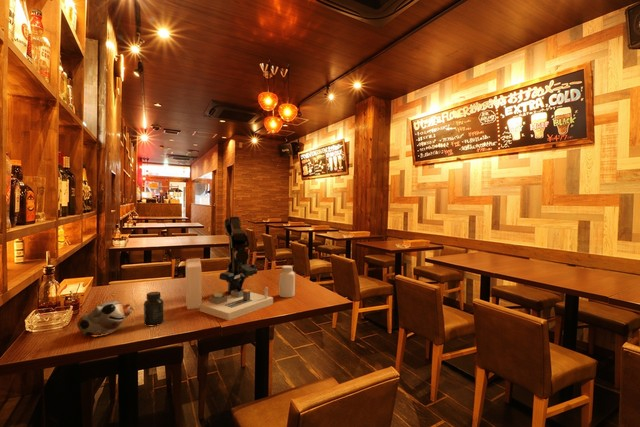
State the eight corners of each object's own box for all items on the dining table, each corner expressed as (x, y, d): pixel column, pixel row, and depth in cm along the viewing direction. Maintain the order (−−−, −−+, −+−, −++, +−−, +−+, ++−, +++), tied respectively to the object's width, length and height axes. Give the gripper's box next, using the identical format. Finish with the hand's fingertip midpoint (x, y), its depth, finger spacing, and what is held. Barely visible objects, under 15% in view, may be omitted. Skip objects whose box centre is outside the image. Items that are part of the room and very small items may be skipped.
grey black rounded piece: (114, 321, 130) (130, 291, 129) (124, 340, 123) (141, 309, 122) (71, 321, 118) (88, 288, 117) (79, 343, 111) (98, 308, 110)
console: (200, 311, 142) (199, 292, 142) (245, 296, 164) (245, 280, 163) (228, 320, 131) (228, 300, 131) (273, 303, 153) (273, 286, 152)
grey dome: (233, 295, 155) (233, 291, 155) (239, 293, 158) (239, 289, 158) (238, 296, 153) (238, 292, 153) (244, 294, 156) (244, 290, 156)
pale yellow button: (212, 297, 145) (212, 293, 145) (219, 295, 148) (219, 291, 148) (217, 298, 143) (217, 294, 143) (224, 296, 146) (224, 292, 146)
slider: (242, 300, 148) (242, 290, 147) (246, 298, 149) (246, 289, 149) (246, 301, 146) (246, 291, 146) (250, 299, 148) (250, 290, 148)
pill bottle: (292, 298, 161) (292, 268, 161) (276, 297, 163) (277, 267, 162) (296, 293, 169) (296, 265, 169) (281, 292, 171) (282, 264, 170)
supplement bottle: (141, 323, 128) (141, 293, 128) (160, 318, 133) (159, 289, 133) (147, 328, 123) (146, 296, 123) (166, 323, 128) (165, 293, 128)
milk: (201, 307, 147) (201, 259, 146) (187, 309, 144) (187, 260, 143) (199, 303, 152) (199, 257, 151) (185, 305, 149) (185, 258, 148)
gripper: (234, 264, 143) (234, 299, 143) (265, 257, 158) (265, 289, 159) (218, 261, 149) (218, 294, 150) (249, 255, 164) (249, 286, 165)
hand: (239, 291), depth 156 cm, fingers closed, pressing on grey dome
